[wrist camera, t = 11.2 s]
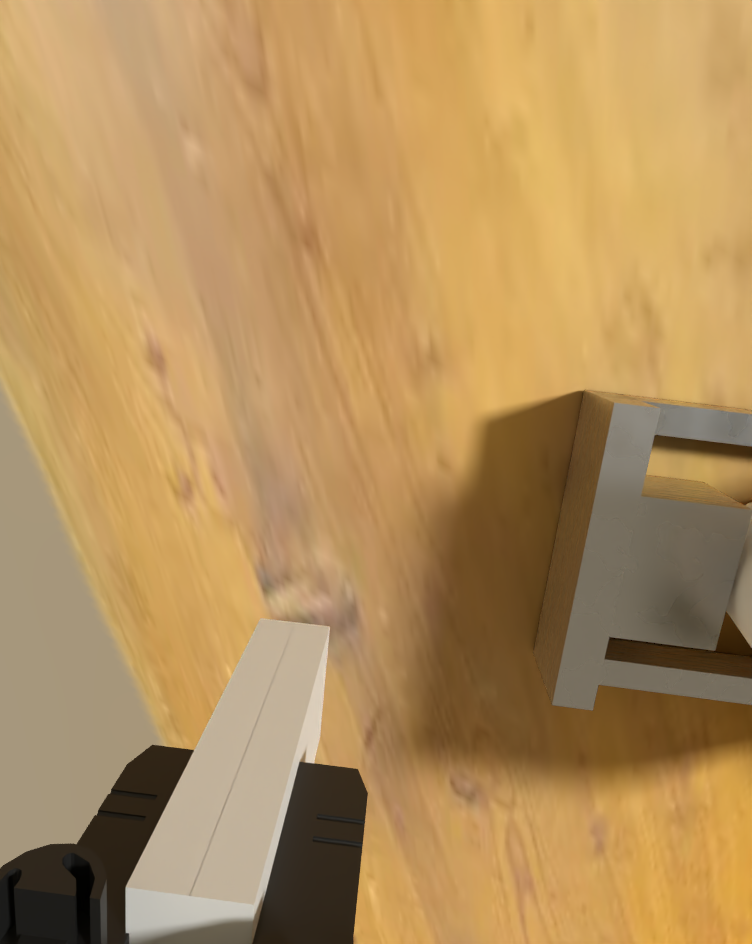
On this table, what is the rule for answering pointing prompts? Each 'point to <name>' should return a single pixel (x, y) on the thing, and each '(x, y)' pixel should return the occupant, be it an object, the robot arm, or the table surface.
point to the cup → (743, 589)
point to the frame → (642, 560)
